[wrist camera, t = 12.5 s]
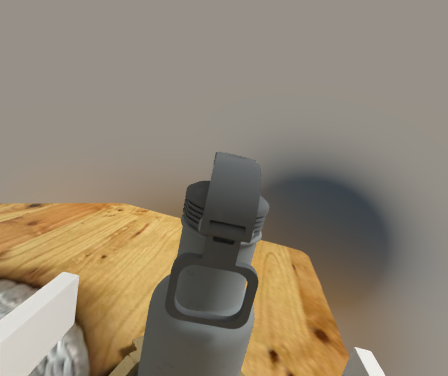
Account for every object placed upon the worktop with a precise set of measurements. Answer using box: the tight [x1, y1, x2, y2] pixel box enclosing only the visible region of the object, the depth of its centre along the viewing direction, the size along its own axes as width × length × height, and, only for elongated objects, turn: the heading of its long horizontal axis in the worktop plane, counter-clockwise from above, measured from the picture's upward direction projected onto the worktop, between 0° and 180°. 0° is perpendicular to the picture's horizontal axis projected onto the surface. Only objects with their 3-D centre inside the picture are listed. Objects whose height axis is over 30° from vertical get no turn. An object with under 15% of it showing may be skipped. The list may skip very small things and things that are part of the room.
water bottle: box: [137, 152, 269, 376], centre depth 23 cm, size 10×10×28 cm
